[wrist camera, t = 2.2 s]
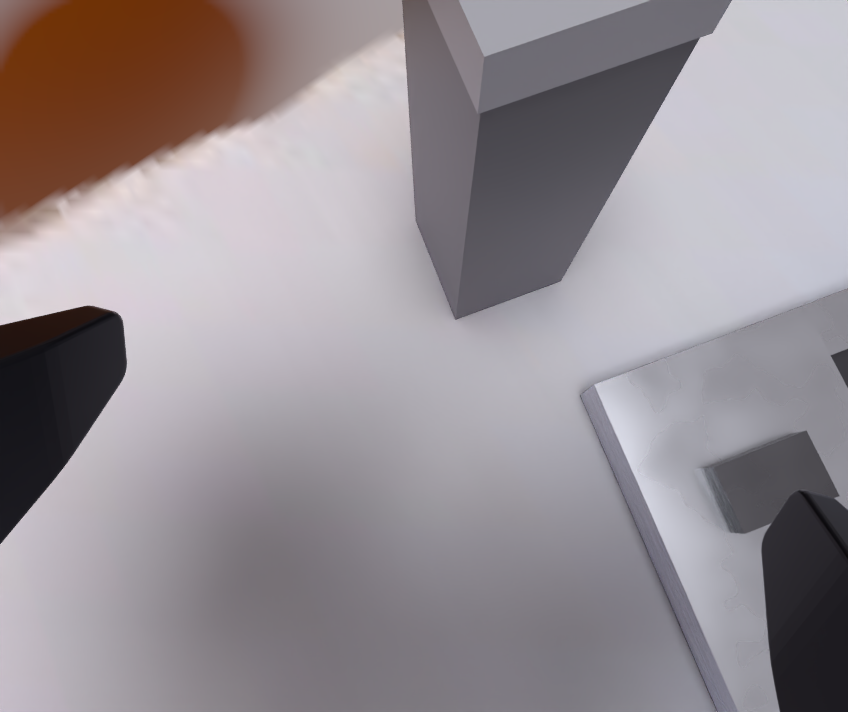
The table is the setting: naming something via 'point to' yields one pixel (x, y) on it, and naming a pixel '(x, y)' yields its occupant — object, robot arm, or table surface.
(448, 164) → the plug
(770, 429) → the socket
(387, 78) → the table surface
